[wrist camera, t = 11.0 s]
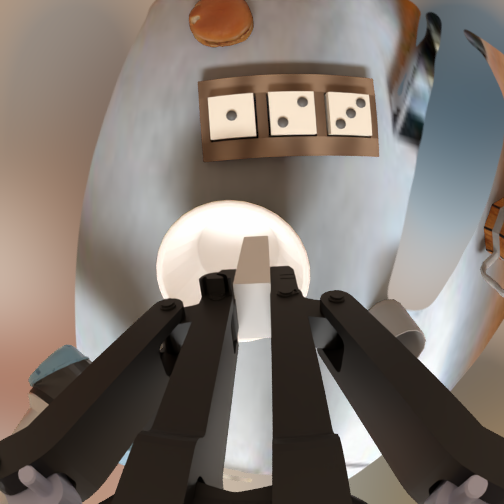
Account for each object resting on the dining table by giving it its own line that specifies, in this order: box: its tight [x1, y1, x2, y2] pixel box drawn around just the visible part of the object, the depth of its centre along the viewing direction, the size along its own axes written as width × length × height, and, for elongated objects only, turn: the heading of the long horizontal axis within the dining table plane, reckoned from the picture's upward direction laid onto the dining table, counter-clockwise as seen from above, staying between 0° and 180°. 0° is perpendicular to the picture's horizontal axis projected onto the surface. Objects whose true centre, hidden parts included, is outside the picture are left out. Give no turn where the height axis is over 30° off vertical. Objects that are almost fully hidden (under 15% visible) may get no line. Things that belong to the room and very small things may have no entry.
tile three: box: [324, 92, 372, 137], centre depth 34 cm, size 6×6×4 cm
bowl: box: [156, 200, 310, 342], centre depth 38 cm, size 19×19×11 cm
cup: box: [369, 299, 426, 358], centre depth 42 cm, size 8×8×10 cm
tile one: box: [208, 93, 257, 141], centre depth 35 cm, size 6×6×4 cm
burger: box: [189, 0, 253, 47], centre depth 29 cm, size 10×9×5 cm
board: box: [198, 74, 379, 162], centre depth 35 cm, size 25×12×2 cm, turn 94°
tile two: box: [268, 91, 317, 136], centre depth 34 cm, size 6×6×4 cm
